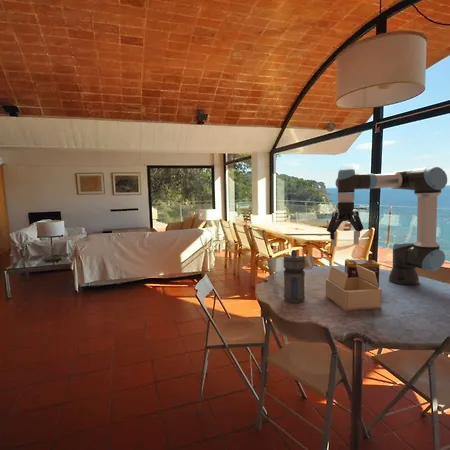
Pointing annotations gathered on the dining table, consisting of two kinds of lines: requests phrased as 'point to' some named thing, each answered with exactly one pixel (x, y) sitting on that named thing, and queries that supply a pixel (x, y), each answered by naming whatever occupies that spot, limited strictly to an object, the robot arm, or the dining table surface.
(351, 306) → the carton
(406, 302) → the dining table surface
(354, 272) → the supplement box
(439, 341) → the dining table surface
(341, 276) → the flap
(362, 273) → the flap
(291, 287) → the beverage bottle
